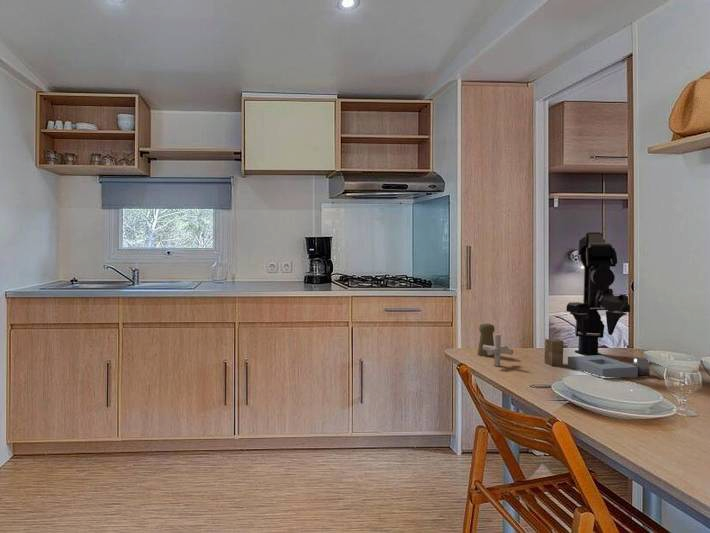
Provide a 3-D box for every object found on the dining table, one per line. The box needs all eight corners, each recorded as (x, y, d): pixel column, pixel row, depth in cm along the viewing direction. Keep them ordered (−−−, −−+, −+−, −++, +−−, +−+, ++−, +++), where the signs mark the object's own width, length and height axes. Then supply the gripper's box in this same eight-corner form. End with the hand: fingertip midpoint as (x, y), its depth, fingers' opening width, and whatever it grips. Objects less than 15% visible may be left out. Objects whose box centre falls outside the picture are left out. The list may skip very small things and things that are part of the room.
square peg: (544, 363, 167) (545, 339, 166) (555, 362, 167) (555, 338, 167) (551, 366, 163) (552, 341, 162) (562, 365, 164) (563, 340, 163)
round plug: (628, 373, 154) (629, 357, 154) (641, 372, 155) (642, 356, 155) (640, 377, 150) (640, 360, 150) (653, 376, 151) (653, 359, 151)
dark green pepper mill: (481, 352, 182) (481, 321, 182) (497, 354, 179) (498, 323, 178) (474, 355, 178) (475, 324, 177) (491, 357, 174) (492, 325, 174)
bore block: (567, 366, 163) (567, 356, 163) (599, 364, 166) (600, 355, 165) (602, 379, 147) (602, 368, 147) (637, 377, 150) (637, 366, 150)
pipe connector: (491, 360, 170) (492, 330, 169) (519, 365, 163) (519, 334, 162) (475, 365, 163) (475, 334, 162) (503, 371, 156) (504, 338, 155)
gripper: (590, 287, 146) (589, 341, 147) (645, 286, 150) (643, 339, 151) (566, 284, 157) (564, 334, 158) (617, 283, 161) (615, 332, 162)
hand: (597, 335), depth 157 cm, fingers open, 9 cm apart
